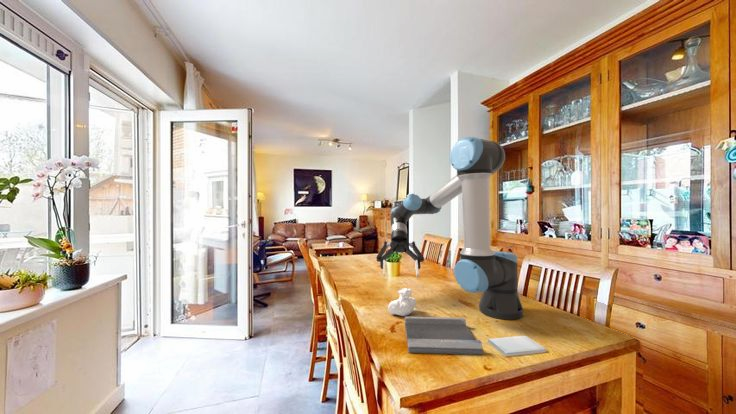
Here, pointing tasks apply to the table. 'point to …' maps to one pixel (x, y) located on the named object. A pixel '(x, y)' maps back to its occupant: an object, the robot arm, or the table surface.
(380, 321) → the table surface
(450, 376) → the table surface
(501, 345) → the hard drive
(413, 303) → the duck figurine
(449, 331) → the rail plate
